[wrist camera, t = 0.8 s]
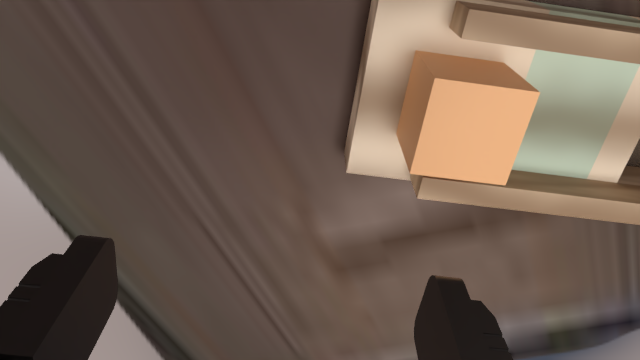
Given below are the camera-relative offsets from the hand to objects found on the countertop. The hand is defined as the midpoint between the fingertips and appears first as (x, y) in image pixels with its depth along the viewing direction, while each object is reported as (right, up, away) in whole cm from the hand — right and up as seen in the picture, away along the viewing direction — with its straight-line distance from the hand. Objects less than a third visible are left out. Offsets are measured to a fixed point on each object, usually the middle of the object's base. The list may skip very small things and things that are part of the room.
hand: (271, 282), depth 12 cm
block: (+9, +7, +15) cm, 19 cm away
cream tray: (+15, +8, +18) cm, 25 cm away
